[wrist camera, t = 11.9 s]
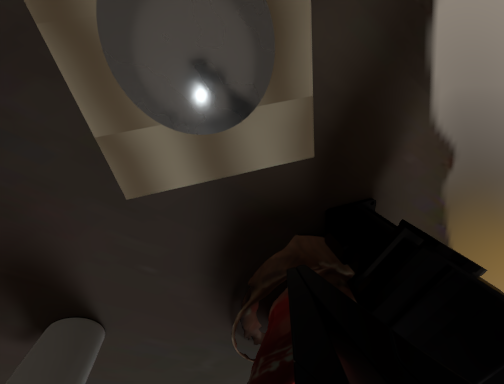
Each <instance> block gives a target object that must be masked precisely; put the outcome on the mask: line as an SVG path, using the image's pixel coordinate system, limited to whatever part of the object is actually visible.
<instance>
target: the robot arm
mask: <svg viewBox="0 0 504 384" xmlns="http://www.w3.org/2000/svg"><path fill="white" fill-rule="evenodd" d="M375 206H376V200H374V199H372V198H370V199H366V200H362V201H358V202H354V203H350V204H347V205H343V206H339V207H335V208H331V209H328V210H327V211H326V226H325V243H326V245H327V246H328V247H329V248H330V250H331V251H332V252H333V253H334V254H335V256H336V257H337V258H338V259H339V261H340V262H341V263H342V264H343V265H348V266H349V267H350V268H351V269H352V271H353V272H354V273H355V274H354V275H353V276H352V278H349V279H348V281H347V284H348V286H349V288H350V290H351V292H352V294H353V296H354V298H355V300H356V302H357V303H356V302H355V301H354V300H352V299H351V298H350V297H348V296H347V295H346V294H344V293H343V292H342V291H340V290H339V289H338V288H336V287H335V286H334V285H332V284H331V283H330V282H328V281H327V280H326V279H324V278H323V277H322V276H320V275H319V274H317V273H316V272H315V271H313V270H312V269H311V268H309V267H308V266H307V265H305V264H303V265H300V266H297V267H296V268H295V267H293V268H289V269H287V270H286V273H287V286H288V299H289V312H290V325H291V338H292V351H293V362H294V363H293V365H294V378H295V384H504V293H503V292H502V291H501V290H499V289H498V288H496V287H495V286H493V285H492V284H490V283H488V282H487V281H485V280H484V279H482V278H481V277H480V276H482V275H483V274H484V273H485V272H486V271H487V270H486V269H484V268H483V267H481V266H479V265H478V264H476V263H474V262H473V261H471V260H469V259H468V258H466V257H464V256H463V255H461V254H460V253H458V252H456V251H455V250H453V249H451V248H450V247H448V246H446V245H445V244H443V243H442V242H440V241H438V240H437V239H435V238H433V237H432V236H430V235H428V234H427V233H425V232H423V231H422V230H420V229H418V228H417V227H415V226H413V225H412V224H410V223H408V222H407V221H405V220H403V219H402V220H401V222H400V223H399V225H398V226H396V225H395V224H393V223H392V222H390V221H389V220H387V219H385V218H384V217H382V216H381V215H379V214H378V213H376V212H375ZM330 213H331V214H330Z"/></svg>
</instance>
